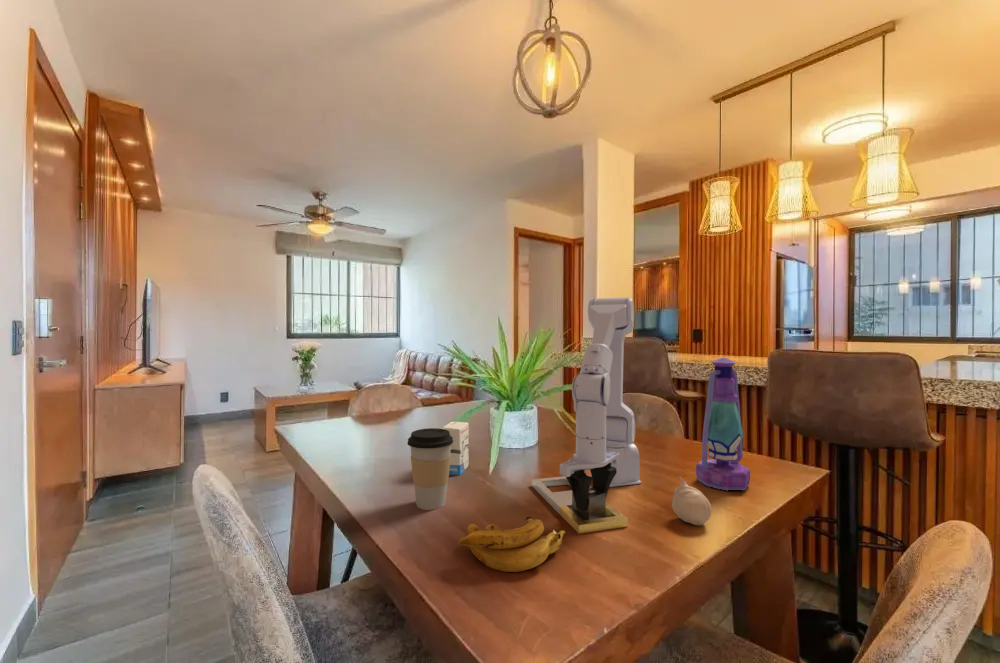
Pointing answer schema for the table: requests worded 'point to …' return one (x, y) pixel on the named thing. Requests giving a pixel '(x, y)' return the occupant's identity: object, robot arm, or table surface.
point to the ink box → (458, 447)
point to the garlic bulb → (691, 504)
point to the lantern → (723, 432)
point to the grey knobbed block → (592, 505)
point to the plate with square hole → (564, 507)
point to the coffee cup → (430, 466)
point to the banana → (512, 545)
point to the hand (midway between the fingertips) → (590, 505)
